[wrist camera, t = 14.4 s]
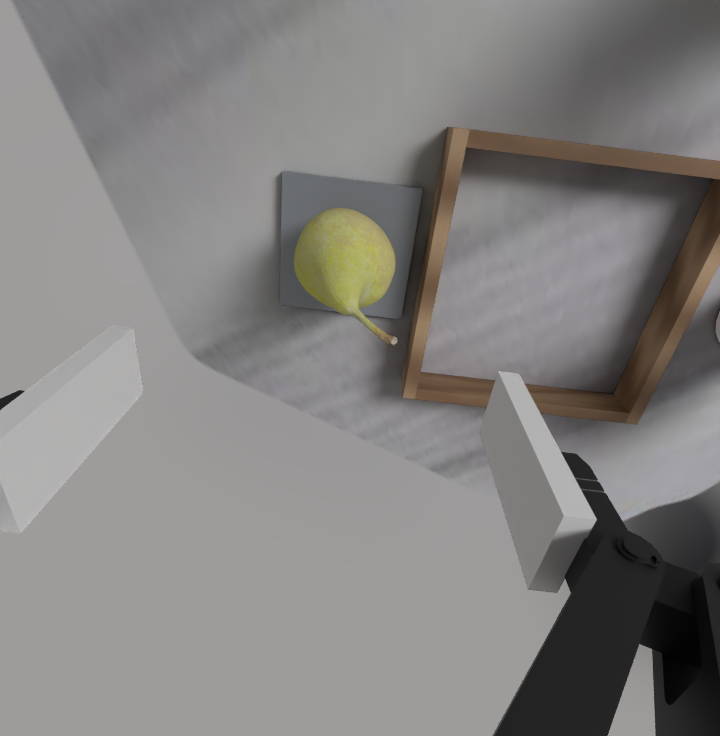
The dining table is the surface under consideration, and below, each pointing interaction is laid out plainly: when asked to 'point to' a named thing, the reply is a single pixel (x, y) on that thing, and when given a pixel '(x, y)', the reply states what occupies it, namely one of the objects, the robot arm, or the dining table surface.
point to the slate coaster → (375, 200)
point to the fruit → (345, 263)
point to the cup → (718, 327)
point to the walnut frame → (663, 329)
